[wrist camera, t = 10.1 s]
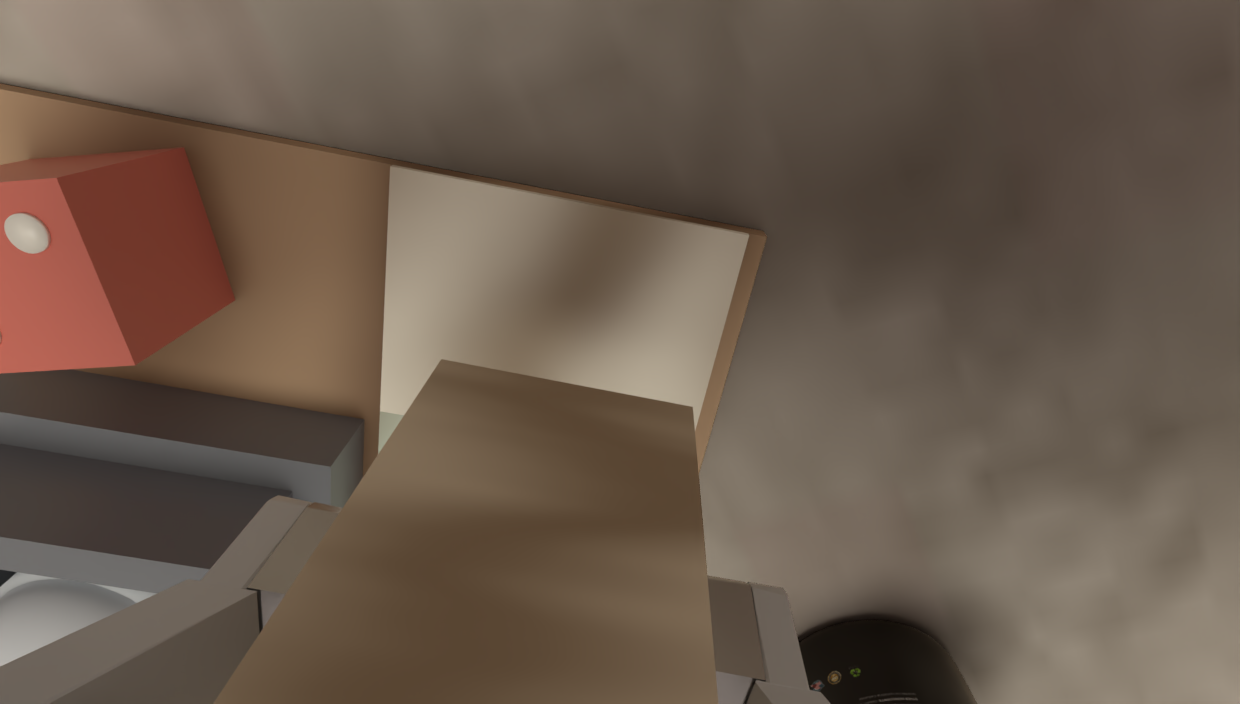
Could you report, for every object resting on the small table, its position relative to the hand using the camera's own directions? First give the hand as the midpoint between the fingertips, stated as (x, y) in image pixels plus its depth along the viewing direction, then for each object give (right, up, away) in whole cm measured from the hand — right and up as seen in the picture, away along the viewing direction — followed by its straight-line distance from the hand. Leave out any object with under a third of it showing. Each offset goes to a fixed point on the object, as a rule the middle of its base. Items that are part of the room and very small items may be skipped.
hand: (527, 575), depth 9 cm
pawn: (0, +1, +2) cm, 2 cm away
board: (-7, -1, +12) cm, 14 cm away
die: (-11, +6, +8) cm, 15 cm away
